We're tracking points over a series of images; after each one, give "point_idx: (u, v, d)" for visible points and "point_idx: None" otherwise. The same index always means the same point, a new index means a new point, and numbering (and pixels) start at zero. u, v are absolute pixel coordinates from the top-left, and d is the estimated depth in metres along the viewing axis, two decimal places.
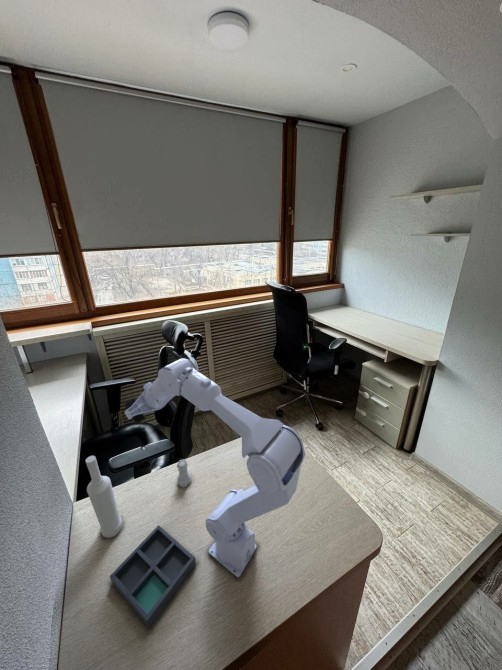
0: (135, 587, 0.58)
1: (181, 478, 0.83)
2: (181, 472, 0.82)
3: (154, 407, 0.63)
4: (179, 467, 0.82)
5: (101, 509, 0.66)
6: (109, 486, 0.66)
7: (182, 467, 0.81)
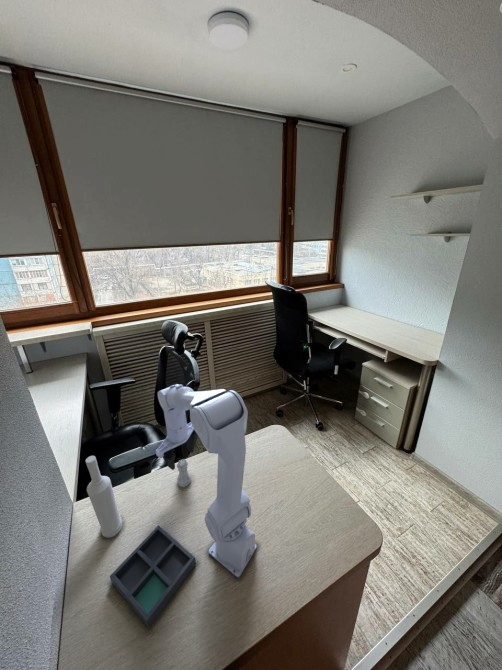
0: (135, 587, 0.58)
1: (181, 478, 0.83)
2: (181, 472, 0.82)
3: (177, 441, 0.76)
4: (179, 467, 0.82)
5: (101, 509, 0.66)
6: (109, 486, 0.66)
7: (182, 467, 0.81)
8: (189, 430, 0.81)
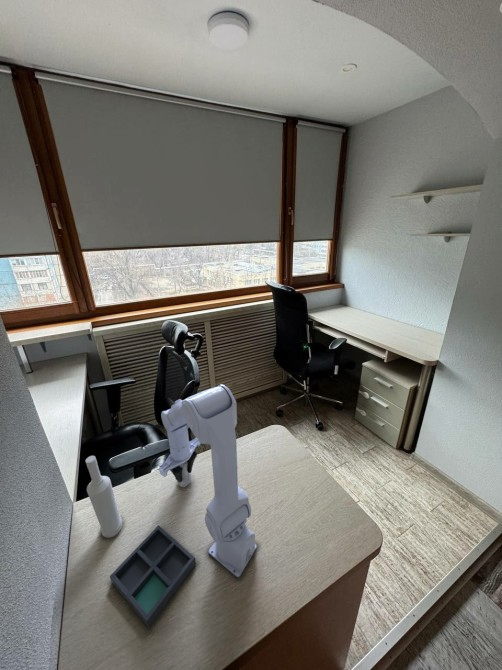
0: (135, 587, 0.58)
1: None
2: None
3: (180, 459, 0.78)
4: None
5: (101, 509, 0.66)
6: (109, 486, 0.66)
7: (182, 467, 0.81)
8: (191, 448, 0.84)
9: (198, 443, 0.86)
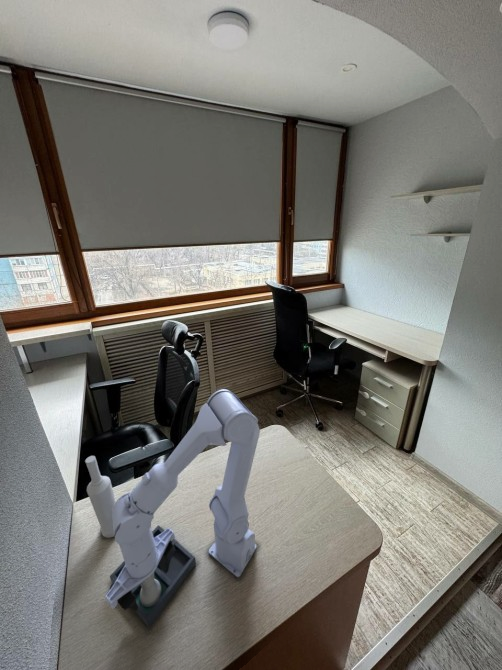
0: (135, 587, 0.58)
1: (145, 595, 0.56)
2: (144, 588, 0.56)
3: (139, 576, 0.51)
4: (141, 582, 0.55)
5: (101, 509, 0.66)
6: (109, 486, 0.66)
7: (145, 582, 0.55)
8: (160, 548, 0.56)
9: (171, 537, 0.59)
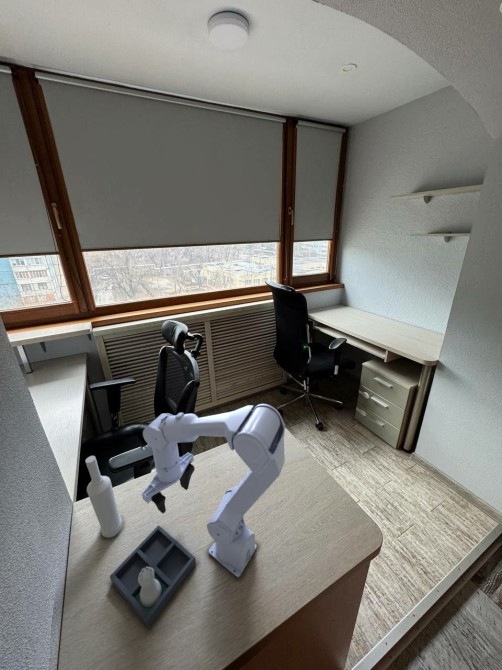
0: (135, 587, 0.58)
1: (145, 595, 0.56)
2: (144, 588, 0.56)
3: (168, 481, 0.64)
4: (141, 582, 0.55)
5: (101, 509, 0.66)
6: (109, 486, 0.66)
7: (145, 582, 0.55)
8: (183, 465, 0.69)
9: (191, 459, 0.71)
